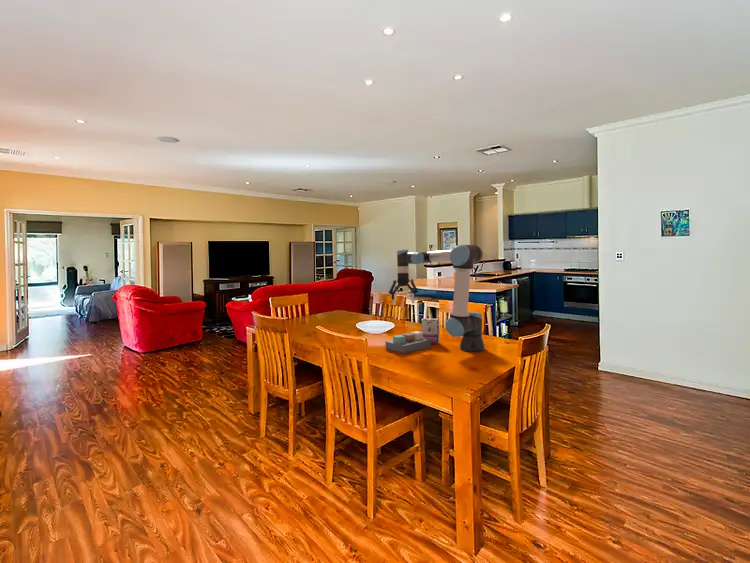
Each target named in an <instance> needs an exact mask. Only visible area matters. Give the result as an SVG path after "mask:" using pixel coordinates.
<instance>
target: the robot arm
mask: <svg viewBox="0 0 750 563" xmlns="http://www.w3.org/2000/svg"><path fill="white" fill-rule="evenodd" d="M483 256H484V252H483V250H482V248H481V247H480V246H479V245H476V244H460V245H456V246H454V247H453V248H452V249H445V250H433V251H432V250H431V251H417V252H416V251H414V252H413V251H412V252H410V251H409V249H397V251H396V259H397V260H396V261H397V262H396V263H397V264H396V266H397V268H396V269H397V271H396V272H397V280H396V279H393V280H392V284H391V287H390V289H389V291H388V294H389V295H391V300H392V305H393V306H395V305H396V292H397V291H398V290H399V289H400V288H401V287H407V288H408V289H409V290H410V292H411V304H415V299H416V294H417V293H418V292H419V290H418V288H417V286H416V285H415V283H414V279H412V278H410V275H409V274H410V272H409V271H410V270H409V269H410V268H409V267H410V266H409V265H421V264H433V263H434V264H435V263H451V264H452V268H453V270H454V272H455V273H454V283H453V284H454V286H453V287H454V288H453V301H452V302H453V303H452V310H451V311H450V312H449V318H448V319H447V320H446V321H445V327H444V328H445V330H446V332H447V333H448V334H449V335H450V336H452V337H453V338H459V337H462V338H461V340H460V343H459V349H460V350H461V351H465V352H469V353H470V352H471V353H473V352H474V353H478V352H483V351H485V350H486V345H485V343H484V340H483V315H482V313H480V312H477V311H476V312H475V311H468V308H469V294H470V282H471V271H472V270H474V265H475V264H478V263H479V262H481V260H482V258H483ZM409 283H411V285H410V284H409Z"/></svg>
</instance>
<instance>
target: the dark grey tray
mask: <svg viewBox="0 0 750 563" xmlns="http://www.w3.org/2000/svg"><path fill="white" fill-rule="evenodd" d="M430 348H432V344H431V339H427V338H423V339H420V340H415V341H411V342H406V343H402V344H396V343H393V339H390V340H386V341H385V350H388V351H390V352H394V353H397V354H401V355H405V354H409V353H413V352H417V351H422V350H424V349H430Z"/></svg>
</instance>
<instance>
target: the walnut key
mask: <svg viewBox="0 0 750 563" xmlns="http://www.w3.org/2000/svg"><path fill="white" fill-rule="evenodd" d="M401 335H403V336H406V342H411V341H415V340H414V334H411V332H407V333H402V334H401Z"/></svg>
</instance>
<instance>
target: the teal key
mask: <svg viewBox="0 0 750 563" xmlns="http://www.w3.org/2000/svg"><path fill="white" fill-rule="evenodd" d="M392 338H393V339H392V340H393V343H396V344H402V343H406V336H403V335H402V334H396V335H393V336H392Z"/></svg>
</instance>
